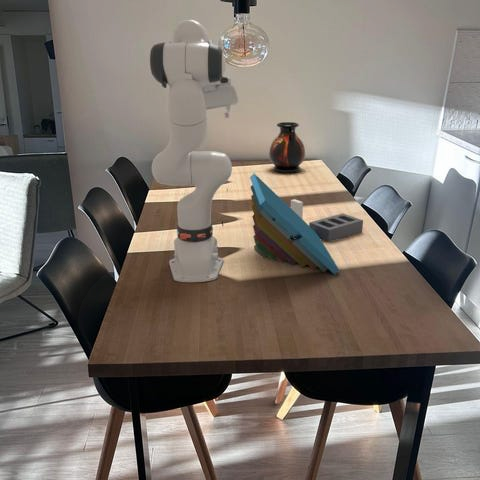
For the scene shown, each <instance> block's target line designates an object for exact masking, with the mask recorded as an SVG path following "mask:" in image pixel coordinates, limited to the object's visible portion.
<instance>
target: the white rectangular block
mask: <svg viewBox="0 0 480 480" xmlns="http://www.w3.org/2000/svg"><path fill="white" fill-rule="evenodd" d="M290 208H291V209H292V210H293V211H294V212H295V213H296V214H297V215H298V216H299V217H300V218H301V219H302V220H303V212H304V211H303V210H304V209H303V208H304V201H301V200H298V199H295V198H294V199H291V200H290Z"/></svg>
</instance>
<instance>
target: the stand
mask: <svg viewBox="0 0 480 480" xmlns="http://www.w3.org/2000/svg"><path fill="white" fill-rule="evenodd" d="M308 225H309V226H310V227H311V228H312V229H313V230H314V231H315V232H316V233H317V234H318V236H319V238H320V239H321V241H324V242H327V243H330V242H333V241H337V240H341V239H344V238H347V237H350V236H353V235H356V234H360V233H362V232H363V226H364V220H363V219H360V218H358V217H354V216H352V215H349V214H347V213H339V214H334V215H331V216H328V217H325V218H320V219H315V220H314V221H313V220H312V221H309V224H308Z"/></svg>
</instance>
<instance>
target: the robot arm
mask: <svg viewBox="0 0 480 480" xmlns="http://www.w3.org/2000/svg"><path fill="white" fill-rule="evenodd" d="M172 37H173V39H172V40H171V41H170V42H169V43H166V42H160V43H157V44H154V45H153V46H152V47H151V49H150V53H149V56H148V65H149V69H150V73H151V75H152V77H153V78H154V79H155V80H156V81H157V82H158V83H160V84H161V86H162V87H163V88H164V89H166V88H167V85H168V87H169V91H168V92H169V93H168V102H167V103H168V111H167V112H168V120H169V141H168V144H167V145H166V147H165V148H164V149H163V150H161V151H160V153H158V154H157V155H155V157H154V158H153V160H152V163H151V174H152V177H154V180H155V181H156V183H158V184H161V185H167V186H172V187H175V186H177V187H178V186H180V187H181V186H182V187H183V186H192V187H193V186H194V187H195V189H194V190H193V191H192V192H191V193H189V194H186V195H184V196H183V197H181V198H180V199H179V201H178V202H177V205H176V206H177V207H176V209H177V226H176V233H177V238H175V239H174V240H173V245H174V254H173V256H172V259H170V260H169V261H168V262H169V263H168V264H169V267H170V268H169V269H170V271H171V275H172V278H173V280H174V281H176V282H180V283H201V282H202V283H203V282H209V281H210V282H211V281H214V280H216V279H217V278H218V276H219V274H220V271H221V270H222V267H223V264H224V263H225V261H224V258H222V257H219V253H218V251H219V246H218V239H217V238H216V237H214V235H213V234H214V233H213V230H214V228H213V223H212V217H211V216H212V215H211V214H212V203H213V199H214V196H215V195H216V192H217V191H218V190H219V189H220V187H221V186H222V185H224V184H226V182H228V181H229V179H230V177H231V175H232V172H233V166H232V161H231V159H230V157H229V156H228V155H227V154H226V153H225V152H220V151H214V150H197V149H199V148H200V147H201V146H203V144H204V143H205V142H206V140H207V138H208V123H207V120H208V119H207V110H213V109H217V108H218V109H219V108H222V107H225V108H226V110H227V111H226V112H224V118H225V119H229V118H230V114H229V112H230V110H231V106H234V105H237V104H238V102H239V97H238V94H237V90H236V87H235V86H234V85H233V84H231V83H232V77H229V76H224V74H225V71H226V67H227V61H226V60H227V59H226V56H225V54H224V51H223V49H222V48H221V46H219V45H218V44H216V43H215V42H214V40H213V39H211V37H210V34H209V31H208V30H207V28H206V27H205V26H204V25H203V24H202V23H200V22H199V21H197V20H194V19H184V20H182V21H181V22H179V23H178V24H177V25H176V26H175V29H174V31H173V36H172Z"/></svg>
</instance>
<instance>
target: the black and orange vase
mask: <svg viewBox="0 0 480 480" xmlns="http://www.w3.org/2000/svg"><path fill="white" fill-rule="evenodd" d="M299 126H300V124H299V123H297V122H291V121H290V122H289V121H288V122H287V121H284V122H278V123H277V124H276V127H278V128H279V133H278V135H277V136H276V137H275V138H274V139H273V141H271V145H270V147H269V152H268V153H269V154H268V157H269V160H270V162H271V163H272V164H273V165H274V166H273V167H272V169H273V171H274V172H276V173H279V174H295V173H298V172H300V171H301V166H300V165H302V163H303V162H304V161H305V158H306V150H305V149H306V148H305V145H304V143H303V141H302V140H301V138H300V137H299V136H298V135H297V133H296V128H297V127H299Z"/></svg>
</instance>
